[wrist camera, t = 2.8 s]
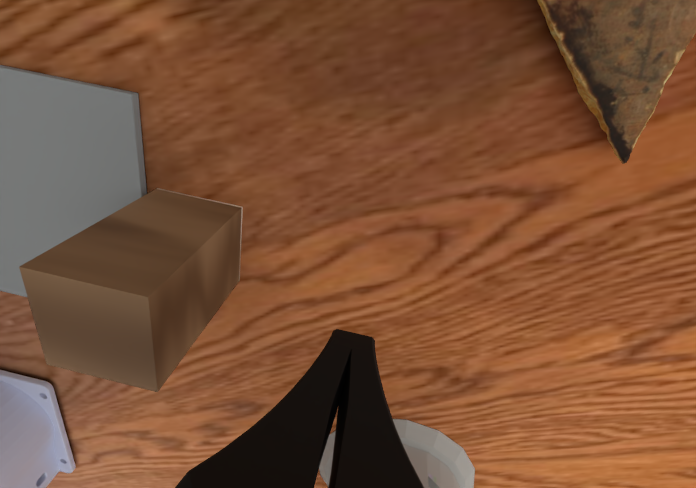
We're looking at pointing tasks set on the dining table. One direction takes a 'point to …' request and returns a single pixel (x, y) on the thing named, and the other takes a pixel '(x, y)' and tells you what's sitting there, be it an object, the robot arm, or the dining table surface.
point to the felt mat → (61, 162)
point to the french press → (422, 457)
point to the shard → (621, 57)
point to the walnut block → (135, 287)
